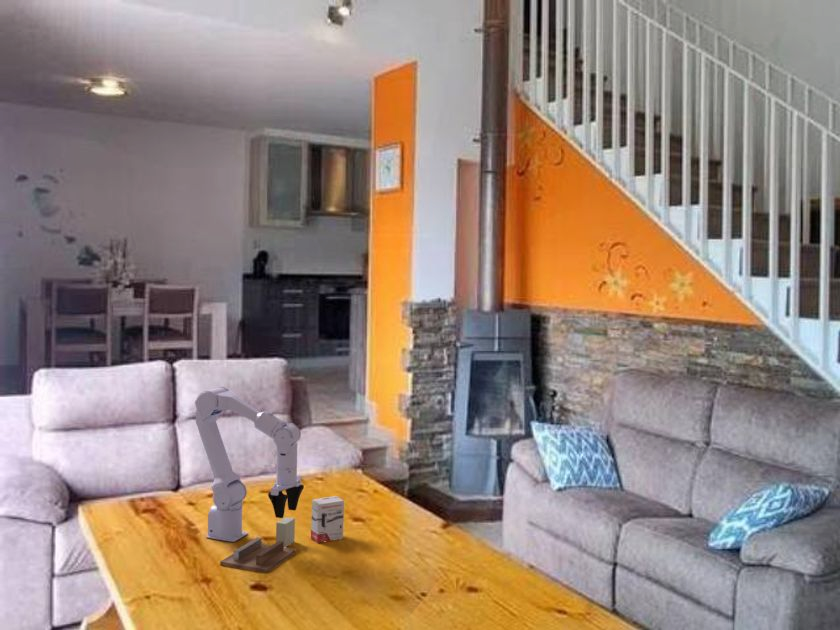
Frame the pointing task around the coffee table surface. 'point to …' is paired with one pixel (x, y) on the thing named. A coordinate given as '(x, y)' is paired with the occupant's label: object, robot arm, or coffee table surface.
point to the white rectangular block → (285, 531)
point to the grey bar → (247, 549)
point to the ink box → (327, 519)
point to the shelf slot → (261, 558)
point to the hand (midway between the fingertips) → (285, 513)
